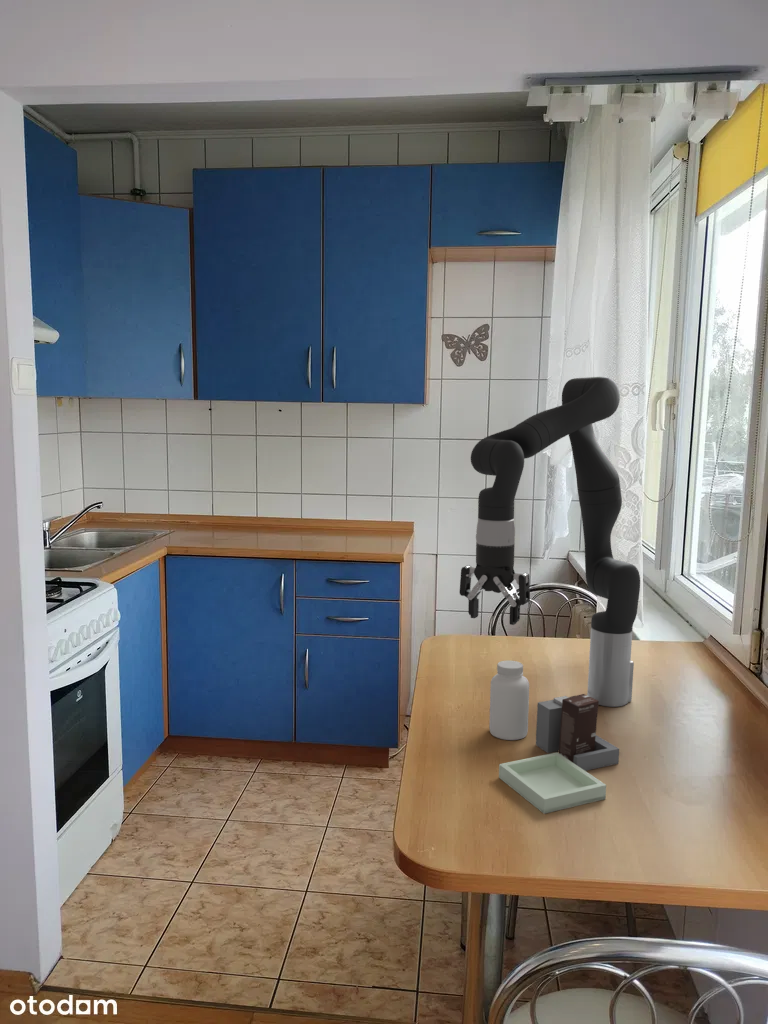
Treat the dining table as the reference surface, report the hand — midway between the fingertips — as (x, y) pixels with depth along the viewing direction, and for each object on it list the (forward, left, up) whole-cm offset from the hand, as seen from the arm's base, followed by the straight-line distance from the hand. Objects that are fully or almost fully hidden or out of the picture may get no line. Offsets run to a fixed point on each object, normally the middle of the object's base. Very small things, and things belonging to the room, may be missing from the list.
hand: (493, 620), depth 158 cm
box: (-11, +14, -25) cm, 31 cm away
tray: (+1, +22, -25) cm, 33 cm away
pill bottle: (-5, -1, -25) cm, 26 cm away
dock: (-12, +12, -25) cm, 31 cm away
